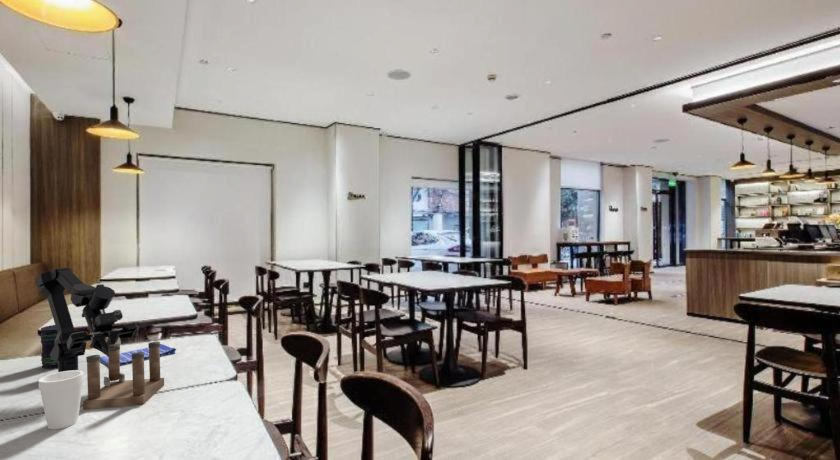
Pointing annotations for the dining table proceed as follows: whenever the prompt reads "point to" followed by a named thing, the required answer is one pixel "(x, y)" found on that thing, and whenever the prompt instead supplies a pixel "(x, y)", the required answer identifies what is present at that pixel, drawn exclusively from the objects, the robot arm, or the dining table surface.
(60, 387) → the foam cup
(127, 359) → the dish towel
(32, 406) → the dining table surface
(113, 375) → the hinged leg
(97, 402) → the stool
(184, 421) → the dining table surface
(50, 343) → the storage jar
